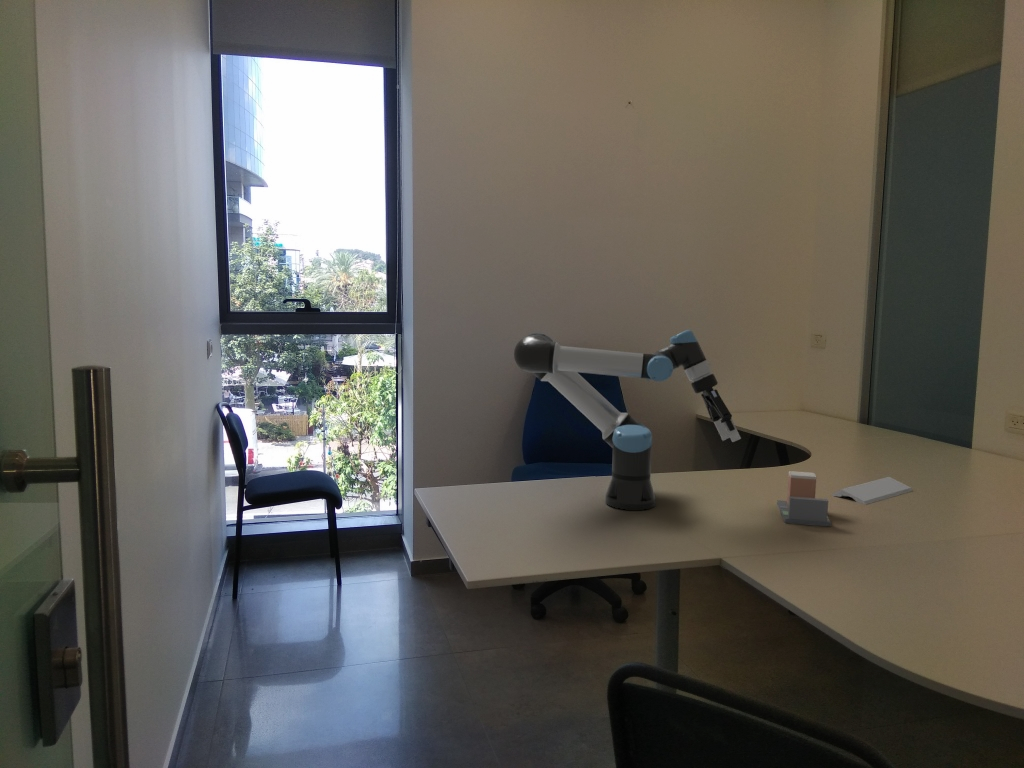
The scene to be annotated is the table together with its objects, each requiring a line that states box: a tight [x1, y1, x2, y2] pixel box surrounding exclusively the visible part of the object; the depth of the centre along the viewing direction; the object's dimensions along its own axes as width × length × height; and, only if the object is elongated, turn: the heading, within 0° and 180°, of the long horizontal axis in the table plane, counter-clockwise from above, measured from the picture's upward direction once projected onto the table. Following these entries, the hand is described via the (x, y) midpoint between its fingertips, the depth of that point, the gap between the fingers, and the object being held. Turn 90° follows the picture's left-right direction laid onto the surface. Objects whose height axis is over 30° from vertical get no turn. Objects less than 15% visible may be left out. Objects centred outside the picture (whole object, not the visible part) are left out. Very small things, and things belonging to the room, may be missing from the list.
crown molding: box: [830, 476, 914, 505], centre depth 236 cm, size 29×12×4 cm, turn 125°
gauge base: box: [776, 496, 832, 528], centre depth 211 cm, size 12×19×7 cm, turn 166°
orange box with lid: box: [786, 470, 817, 506], centre depth 215 cm, size 7×5×10 cm
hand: (731, 439), depth 223 cm, fingers open, 13 cm apart
